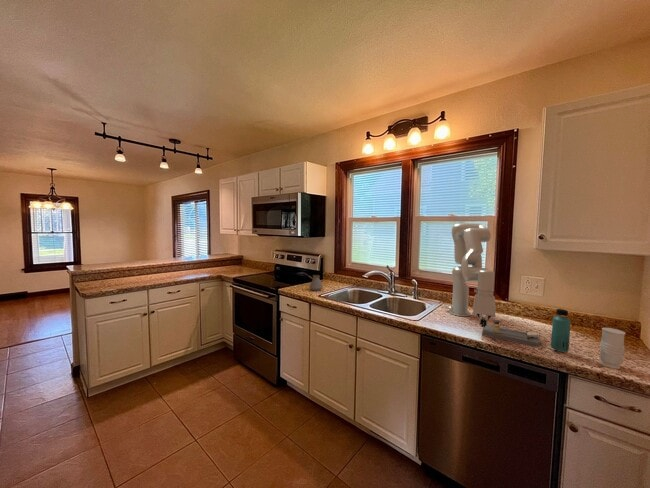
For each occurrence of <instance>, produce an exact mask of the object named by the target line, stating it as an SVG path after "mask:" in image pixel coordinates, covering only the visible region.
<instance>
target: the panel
mask: <svg viewBox="0 0 650 488" xmlns="http://www.w3.org/2000/svg"><path fill="white" fill-rule="evenodd" d="M493 327H494V326H493V325H489V324H487V326H485V327H482V332H481V333H482V336H485V337H489V338H493V339H494V338H495V339H498V340H504V341H508V342H513V343H518V344H521V345H522V344H523V345H526V344H527V345H528V346H533V347H537V348H540V347H541V342H540V339H539V337H529V336H527V332H529V331H520V330H516V329H509V328H505V327H500V326H499V333H495V332H493Z"/></svg>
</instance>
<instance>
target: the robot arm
mask: <svg viewBox="0 0 650 488" xmlns="http://www.w3.org/2000/svg"><path fill="white" fill-rule="evenodd" d="M491 235H492V234H491V231H490V229H489V228H487V227H486V226H485V225H483V224H481V223H467V222H466V223H463V222H460V223H455V224H454V225H453V226H452V227H451V237H452V239H453V244H454V251H453V252H454V262H455V263H456V264H457V265H460V266H455V267H453V268H452V270H451V276H452V300H451V305H448V304H444V308H445V309H447V310H448V312H449V314H451V315H454V316H458V317H469V316H471V313H470V312H469V299H470V298H469V295H470V287H469V285H468V283H466V282H477V284H476V285H477V286H476V287H477V288H476V289H475V288H474V290H473V292H474V293H475V294H474V299H473V307H472V315H475V316H477V317H478V318H479V325H481V328H483V327H485V326H487V325H488V323H487V322H488V320H489V319H493V318H494V319H495V318H496V297H495V296H494V290H495V289H494V288H495V287H494V286H495V272H494V271H493V270H490V269H489V268H487V267H483V260H482V259H483V258H482V254H483V252H484V248H483V244H482V243H488V242H489V241H490V240H491V238H492V236H491ZM470 265H471V266H470ZM483 315H484V316H483Z"/></svg>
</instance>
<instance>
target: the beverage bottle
mask: <svg viewBox="0 0 650 488" xmlns="http://www.w3.org/2000/svg"><path fill="white" fill-rule="evenodd" d="M555 314H556V315H555V316H553V317H552V326H551V327H552V328H551V337H550V348H551V349H553V350H555V351H559V352H562V353H566V352H569V349H570V345H571V344H570V336H571V335H570V334H571V322H572V321H571V320H570V318H569V317H568V315H569V312H568V310H566V309H562V308H557V309H556V311H555ZM566 316H567V317H566Z"/></svg>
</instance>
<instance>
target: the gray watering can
mask: <svg viewBox="0 0 650 488" xmlns="http://www.w3.org/2000/svg"><path fill="white" fill-rule="evenodd" d="M300 274H304V275H305V276H306V277H309V278H310V279H312V281H311V282H310V285H309V289H310V290H311V291H312V292H320V291H321V290H322V289H323V285H322V282H321V279H320V278H321V276H320V275H319V274H313V275H312V276H310V275H309V274H308V273H305V272H304V271H301V273H300Z"/></svg>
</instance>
